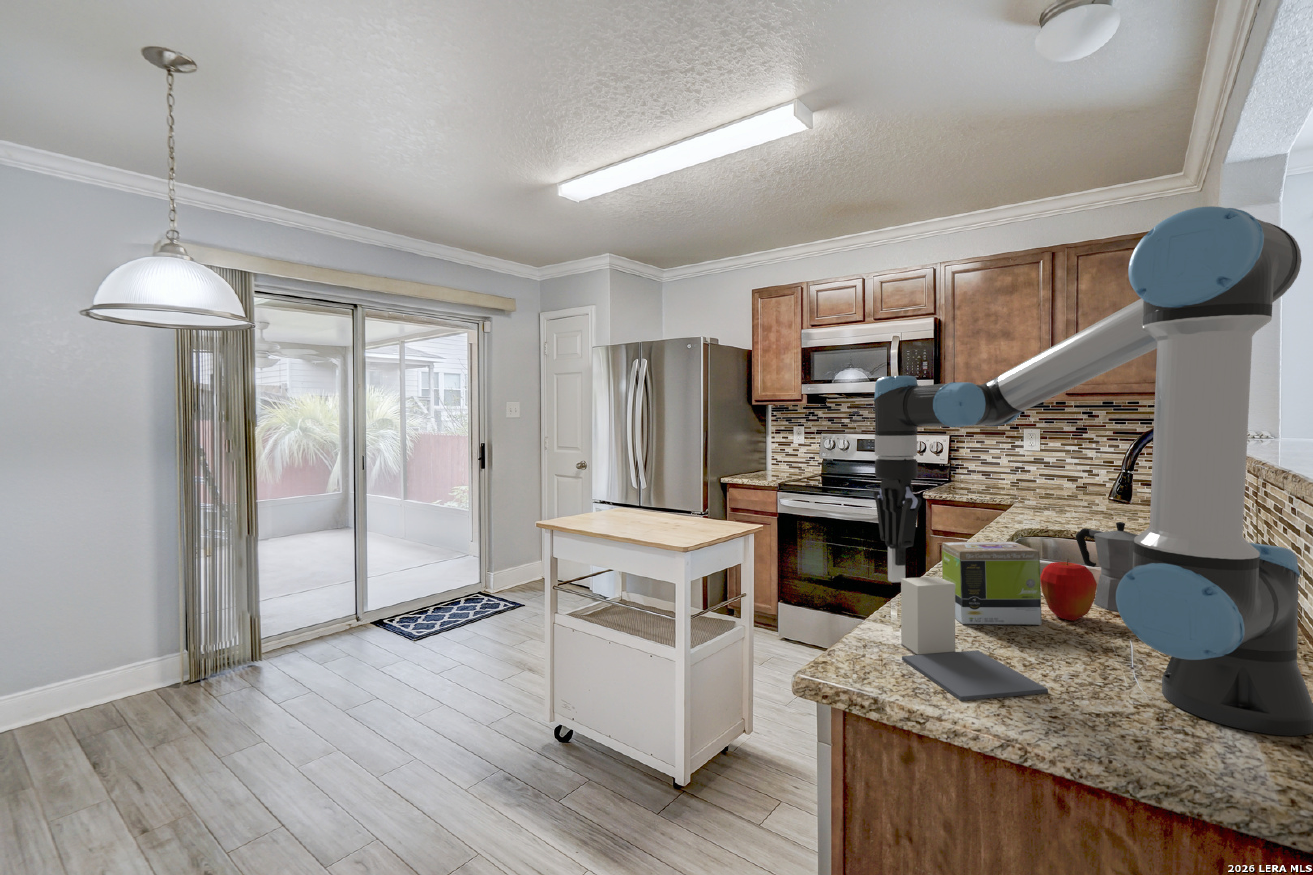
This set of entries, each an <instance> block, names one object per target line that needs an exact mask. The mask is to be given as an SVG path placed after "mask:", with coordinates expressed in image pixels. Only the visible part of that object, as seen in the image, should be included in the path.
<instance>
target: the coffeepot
mask: <svg viewBox="0 0 1313 875" xmlns="http://www.w3.org/2000/svg"><path fill="white" fill-rule="evenodd" d="M1115 526H1116V530H1110V531H1102V530H1097V529H1091V528H1086V527H1084V528H1081V529H1080V530H1079V531H1078V532H1077V533H1076V534H1075V540H1076V542H1077V545H1078V549H1079V551H1080V553H1081V556H1082V560H1083V563H1084V566H1085V565H1086V567H1087V566H1088V567H1093V568H1095V567H1096V566H1097V563H1096V562H1093V561H1091V559H1090V552H1089V550H1088V547H1087V543H1086V541H1087V540H1086V539H1085V538H1090V539H1093V540H1094V542H1095V549H1096V556H1097V560H1098V566H1100V574H1099V577H1098V583H1097V587H1096V594H1095V599H1094V601H1093V603H1094V605H1095V606H1097V607H1098V608H1101V609H1104V610H1107V611H1111V612H1117V613H1119V611H1118V608H1117V605H1116V590H1117V587H1118V584H1119V582H1120V581H1121V579H1122V578H1123V576H1124V575H1125V574H1126V573H1127V572H1129V571H1130V570H1132V569H1133V551H1134V538H1135V537H1136V536H1138V535H1139V534H1136V533H1133V532H1129V531H1125V526H1126V523H1125V522H1122V521H1119V522H1115Z"/></svg>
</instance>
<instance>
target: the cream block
mask: <svg viewBox="0 0 1313 875" xmlns="http://www.w3.org/2000/svg"><path fill="white" fill-rule="evenodd" d="M900 584H901V585H900V610H901V611H900V617H901V618H900V620H901V621H900V624H901V628H900V629H901V632H900V633H901V634H900V636H901V640H900V641H901V642H900V643H901V646H902V648H905V649H906V650H907V651H909V652H911V653H913V655H923V654H936V653H949V652H956V619H955V584H954V583H952V582H950V581H947V580H945V579H943V577H940V576H921V577H905V578H901V582H900Z"/></svg>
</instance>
